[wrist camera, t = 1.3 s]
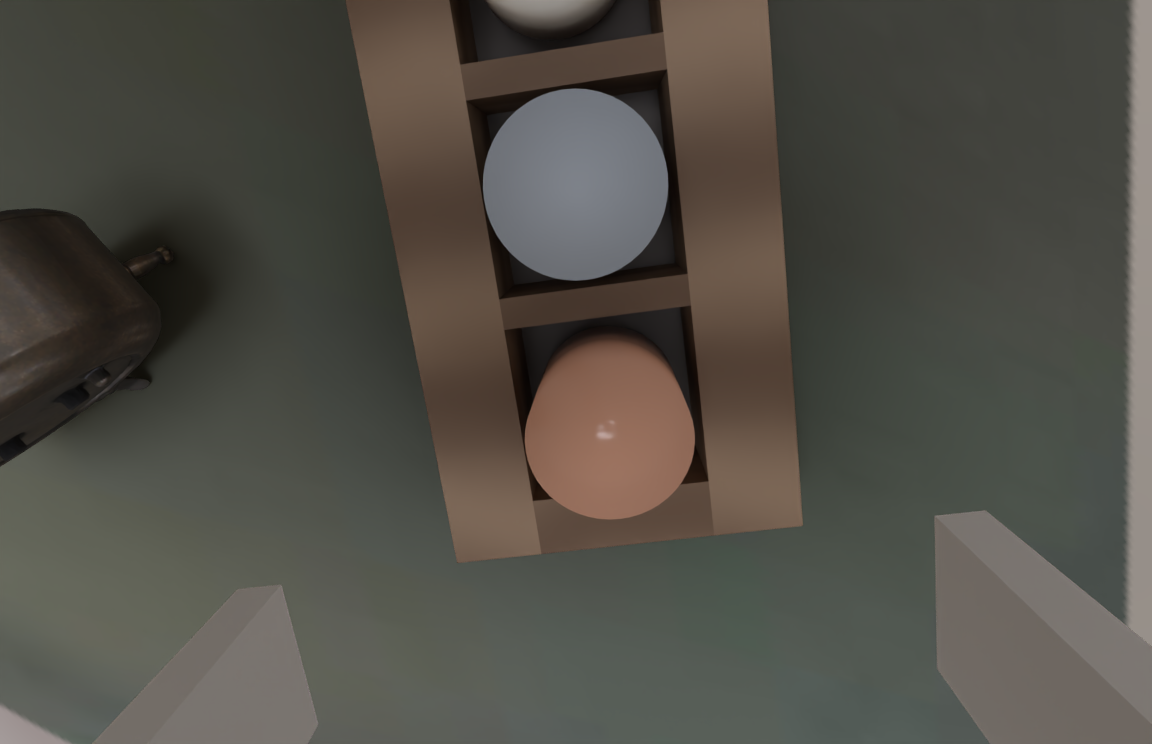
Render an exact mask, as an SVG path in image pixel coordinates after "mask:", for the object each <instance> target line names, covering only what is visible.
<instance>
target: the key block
mask: <svg viewBox="0 0 1152 744" xmlns="http://www.w3.org/2000/svg"><path fill="white" fill-rule="evenodd" d="M345 1H346V6H347V11H348V16H349V21H350V26H351V31H352V36H353V41H354V46H355V51H356V56H357V61H358V66H359V71H360V76H361V81H362V86H363V91H364V96H365V101H366V106H367V111H368V116H369V121H370V127H371V132H372V137H373V142H374V147H375V152H376V157H377V162H378V167H379V172H380V177H381V182H382V187H383V192H384V197H385V202H386V207H387V212H388V217H389V222H390V227H391V232H392V237H393V242H394V247H395V252H396V257H397V262H398V267H399V272H400V277H401V282H402V287H403V292H404V297H405V302H406V307H407V312H408V317H409V322H410V327H411V333H412V338H413V343H414V348H415V353H416V358H417V363H418V368H419V373H420V378H421V383H422V388H423V393H424V398H425V403H426V408H427V413H428V418H429V423H430V428H431V433H432V438H433V443H434V448H435V453H436V458H437V463H438V468H439V473H440V478H441V483H442V488H443V493H444V498H445V503H446V508H447V513H448V518H449V523H450V528H451V533H452V539H453V544H454V549H455V554H456V559H457V563H462V562H471V561H481V560H490V559H499V558H509V557H518V556H527V555H536V554H546V553H555V552H564V551H574V550H583V549H592V548H602V547H611V546H620V545H629V544H639V543H648V542H657V541H667V540H676V539H685V538H695V537H704V536H713V535H722V534H732V533H741V532H750V531H760V530H769V529H778V528H788V527H797V526H803V520H802V505H801V490H800V476H799V461H798V446H797V431H796V416H795V401H794V386H793V371H792V356H791V342H790V327H789V312H788V297H787V282H786V267H785V252H784V237H783V222H782V208H781V193H780V178H779V163H778V148H777V133H776V118H775V103H774V88H773V74H772V59H771V44H770V29H769V14H768V0H616V1H615V2H614V4H613V6H612V7H611V8H610V10H609V11H608V12H607V13H606V15H605V16H604V17H603V18H602V19H601V20H600V21H599V22H597V23H596V24H595V25H593V26H592V27H591V28H589V29H588V30H586V31H584V32H582V33H580V34H578V35H575V36H573V37H569V38H565V39H560V40H540V39H535V38H531V37H528V36H525V35H522V34H520V33H518V32H516V31H514V30H512V29H511V28H510V27H508V26H507V25H505V24H504V23H503V22H502V21H501V20H500V19H498V18H497V17H496V15H495V14H494V13H493V12H492V11H491V10H490V8H489V7H488V5H487V4H486V2H485V1H484V0H345ZM563 89H588V90H593V91H598V92H602V93H604V94H607V95H610V96H612V97H614V98H616V99H618V100H620V101H622V102H624V103H625V104H626V105H628V106H629V107H631V108H632V109H633V110H634V111H635V112H637V113H638V114H639V115H640V116H641V117H642V118H643V119H644V121H645V122H646V123H647V124H648V125H649V127H650V128H651V130H652V131H653V133H654V134H655V136H656V138H657V140H658V142H659V144H660V146H661V149H662V151H663V155H664V158H665V161H666V167H667V173H668V196H667V203H666V207H665V212H664V215H663V217H662V220H661V223H660V225H659V227H658V229H657V231H656V233H655V235H654V236H653V238H652V239H651V241H650V242H649V244H648V245H647V246H646V247H645V249H644V250H643V251H642V252H641V253H640V254H639V255H638V256H637V257H636V258H634V259H633V260H632V261H631V262H630V263H628V264H627V265H625V266H624V267H622V268H621V269H619V270H617V271H615V272H613V273H611V274H608V275H605V276H602V277H599V278H594V279H589V280H578V281H574V280H562V279H557V278H552V277H549V276H546V275H543V274H541V273H539V272H537V271H534V270H532V269H530V268H529V267H527V266H526V265H524V264H523V263H521V262H520V261H519V260H518V259H517V258H515V257H514V256H513V255H512V254H511V253H510V252H509V251H508V250H507V248H506V247H505V246H504V245H503V244H502V242H501V241H500V239H499V238H498V236H497V235H496V233H495V231H494V229H493V227H492V225H491V223H490V220H489V217H488V214H487V211H486V207H485V202H484V194H483V174H484V168H485V162H486V159H487V155H488V152H489V149H490V147H491V145H492V142H493V140H494V138H495V137H496V135H497V133H498V131H499V130H500V128H501V127H502V126H503V124H504V123H505V122H506V121H507V119H508V118H509V117H510V116H511V115H512V114H514V113H515V112H516V111H517V110H518V109H519V108H521V107H522V106H523V105H525V104H526V103H528V102H529V101H531V100H533V99H535V98H537V97H539V96H541V95H544V94H547V93H549V92H553V91H558V90H563ZM602 326H615V327H622V328H627V329H630V330H633V331H636V332H638V333H640V334H642V335H644V336H645V337H647V338H648V339H650V340H651V341H652V342H654V343H655V344H656V345H657V346H658V347H659V348H660V349H661V350H662V352H663V353H664V354H665V356H666V357H667V359H668V360H669V362H670V364H671V366H672V369H673V371H674V374H675V376H676V379H677V381H678V384H679V386H680V389H681V391H682V394H683V396H684V399H685V401H686V404H687V406H688V409H689V411H690V414H691V417H692V420H693V426H694V431H695V445H694V454H693V458H692V462H691V465H690V467H689V470H688V472H687V474H686V476H685V477H684V479H683V481H682V483H681V484H680V485H679V486H678V488H677V489H676V490H675V491H674V492H673V493H672V494H671V495H670V496H669V497H668V498H667V499H666V500H665V501H663V502H662V503H661V504H659V505H658V506H656V507H654V508H653V509H651V510H649V511H647V512H644V513H642V514H639V515H636V516H633V517H629V518H623V519H610V520H609V519H597V518H592V517H587V516H584V515H581V514H578V513H576V512H573V511H571V510H569V509H567V508H565V507H564V506H562V505H561V504H559V503H558V502H557V501H555V500H554V499H553V498H552V497H550V496H549V495H548V493H547V492H546V491H545V490H544V489H543V488H542V487H541V485H540V484H539V483H538V481H537V480H536V478H535V476H534V474H533V472H532V470H531V468H530V465H529V462H528V459H527V454H526V448H525V429H526V424H527V419H528V416H529V413H530V410H531V407H532V404H533V401H534V398H535V396H536V393H537V390H538V387H539V384H540V381H541V378H542V375H543V372H544V370H545V367H546V365H547V363H548V361H549V359H550V358H551V356H552V355H553V353H554V352H555V351H556V350H557V348H558V347H559V346H560V345H561V344H563V343H564V342H565V341H566V340H567V339H569V338H570V337H572V336H573V335H575V334H577V333H580V332H582V331H584V330H587V329H590V328H595V327H602Z"/></svg>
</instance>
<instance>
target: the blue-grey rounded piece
mask: <svg viewBox="0 0 1152 744" xmlns="http://www.w3.org/2000/svg"><path fill="white" fill-rule="evenodd" d="M483 194H484V202H485V207H486V211H487V214H488V217H489V220H490V223H491V225H492V227H493V229H494V231H495V233H496V235H497V236H498V238H499V239H500V241H501V242H502V244H503V245H504V246H505V247H506V248H507V250H508V251H509V252H510V253H511V254H512V255H513V256H514V257H515V258H517V259H518V260H519V261H520V262H521V263H523V264H524V265H526V266H527V267H529V268H530V269H532V270H534V271H537V272H539V273H541V274H543V275H546V276H549V277H552V278H557V279H562V280H574V281H578V280H589V279H594V278H599V277H602V276H605V275H608V274H611V273H613V272H615V271H617V270H619V269H621V268H622V267H624V266H625V265H627V264H628V263H630V262H631V261H632V260H633V259H634V258H636V257H637V256H638V255H639V254H640V253H641V252H642V251H643V250H644V249H645V247H646V246H647V245H648V244H649V242H650V241H651V239H652V238H653V236H654V235H655V233H656V231H657V229H658V227H659V225H660V223H661V220H662V217H663V215H664V212H665V207H666V203H667V196H668V173H667V167H666V161H665V158H664V155H663V151H662V149H661V146H660V144H659V142H658V140H657V138H656V136H655V134H654V133H653V131H652V130H651V128H650V127H649V125H648V124H647V123H646V122H645V121H644V119H643V118H642V117H641V116H640V115H639V114H638V113H637V112H635V111H634V110H633V109H632V108H631V107H629V106H628V105H626V104H625V103H624V102H622V101H620V100H618V99H616V98H614V97H612V96H610V95H607V94H604V93H602V92H598V91H593V90H588V89H563V90H558V91H553V92H549V93H547V94H544V95H541V96H539V97H537V98H535V99H533V100H531V101H529V102H528V103H526V104H525V105H523V106H522V107H521V108H519V109H518V110H517V111H516V112H515V113H514V114H512V115H511V116H510V117H509V118H508V119H507V121H506V122H505V123H504V124H503V126H502V127H501V128H500V130H499V131H498V133H497V135H496V137H495V138H494V140H493V142H492V145H491V147H490V149H489V152H488V155H487V159H486V162H485V168H484V174H483Z"/></svg>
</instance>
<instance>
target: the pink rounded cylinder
mask: <svg viewBox="0 0 1152 744" xmlns="http://www.w3.org/2000/svg"><path fill="white" fill-rule="evenodd" d="M694 445H695V431H694V426H693V420H692V417H691V414H690V411H689V409H688V406H687V404H686V401H685V399H684V396H683V394H682V391H681V389H680V386H679V384H678V381H677V379H676V376H675V374H674V371H673V369H672V366H671V364H670V362H669V360H668V359H667V357H666V356H665V354H664V353H663V352H662V350H661V349H660V348H659V347H658V346H657V345H656V344H655V343H654V342H652V341H651V340H650V339H648V338H647V337H645V336H644V335H642V334H640V333H638V332H636V331H633V330H630V329H627V328H622V327H615V326H602V327H595V328H590V329H587V330H584V331H582V332H580V333H577V334H575V335H573V336H572V337H570V338H569V339H567V340H566V341H565V342H564V343H563V344H561V345H560V346H559V347H558V348H557V350H556V351H555V352H554V353H553V355H552V356H551V358H550V359H549V361H548V363H547V365H546V367H545V370H544V372H543V375H542V378H541V381H540V384H539V387H538V390H537V393H536V396H535V398H534V401H533V404H532V407H531V410H530V413H529V416H528V419H527V424H526V429H525V448H526V454H527V459H528V462H529V465H530V468H531V470H532V472H533V474H534V476H535V478H536V480H537V481H538V483H539V484H540V485H541V487H542V488H543V489H544V490H545V491H546V492H547V493H548V495H549V496H550V497H552V498H553V499H554V500H555V501H557V502H558V503H559V504H561V505H562V506H564V507H565V508H567V509H569V510H571V511H573V512H576V513H578V514H581V515H584V516H587V517H592V518H597V519H609V520H610V519H623V518H629V517H633V516H636V515H639V514H642V513H644V512H647V511H649V510H651V509H653V508H654V507H656V506H658V505H659V504H661V503H662V502H663V501H665V500H666V499H667V498H668V497H669V496H670V495H671V494H672V493H673V492H674V491H675V490H676V489H677V488H678V486H679V485H680V484H681V483H682V481H683V479H684V477H685V476H686V474H687V472H688V470H689V467H690V465H691V462H692V458H693V454H694Z"/></svg>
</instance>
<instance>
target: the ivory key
mask: <svg viewBox="0 0 1152 744" xmlns="http://www.w3.org/2000/svg"><path fill="white" fill-rule="evenodd" d="M484 1H485V2H486V4H487V5H488V7H489V8H490V10H491V11H492V12H493V13H494V14H495V15H496V17H497V18H498V19H500V20H501V21H502V22H503V23H504V24H505V25H507V26H508V27H510V28H511V29H512V30H514V31H516V32H518V33H520V34H522V35H525V36H528V37H531V38H535V39H540V40H560V39H565V38H569V37H573V36H575V35H578V34H580V33H582V32H584V31H586V30H588V29H589V28H591V27H592V26H593V25H595V24H596V23H597V22H599V21H600V20H601V19H602V18H603V17H604V16H605V15H606V13H607V12H608V11H609V10H610V8H611V7H612V6H613V4H614V2H615V1H616V0H484Z"/></svg>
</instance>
